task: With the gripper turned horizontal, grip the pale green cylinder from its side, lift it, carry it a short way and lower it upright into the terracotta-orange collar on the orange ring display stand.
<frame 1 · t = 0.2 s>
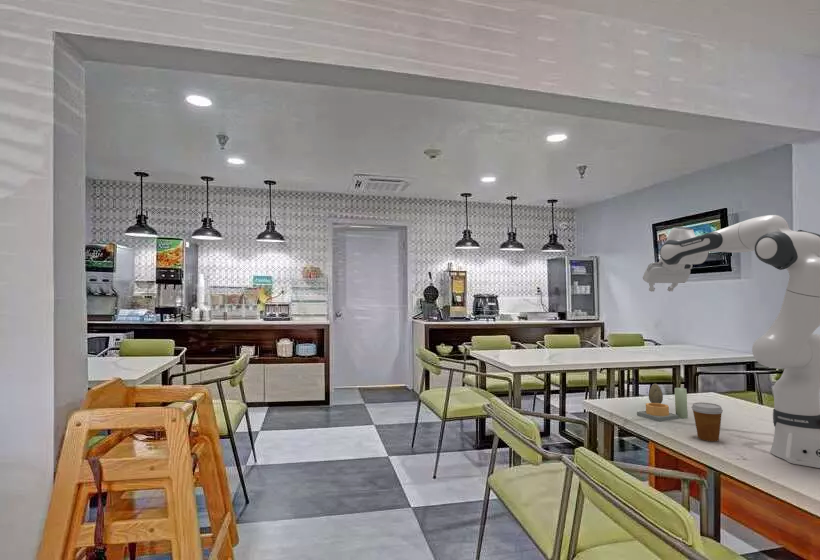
hand: (660, 290, 198), 54 cm above the table, tool tilted 30°, fingers open, 8 cm apart
orange ring display stand: (657, 416, 190), on the table
decorative egg: (656, 405, 211), on the table
pale green cylinder: (681, 417, 189), on the table
disposable coffee cup: (708, 439, 160), on the table
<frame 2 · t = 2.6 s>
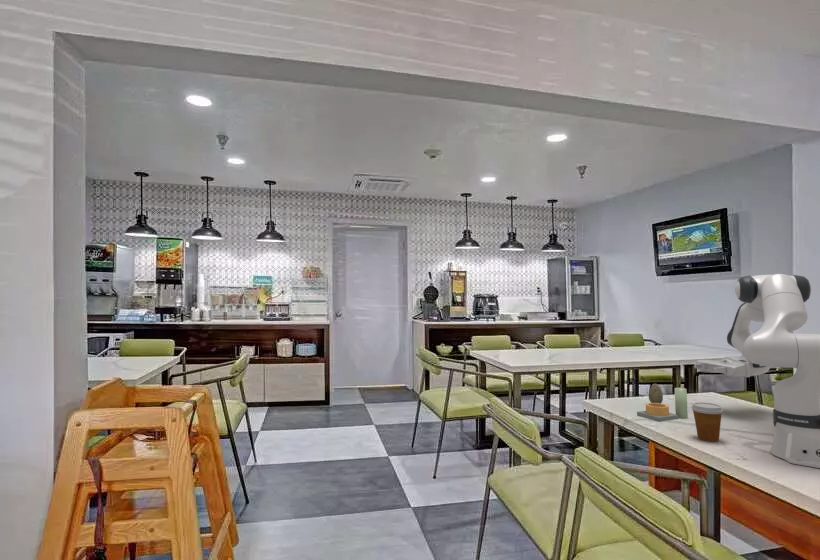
hand: (704, 368, 192), 20 cm above the table, tool horizontal, fingers open, 8 cm apart
nothing on the table moved.
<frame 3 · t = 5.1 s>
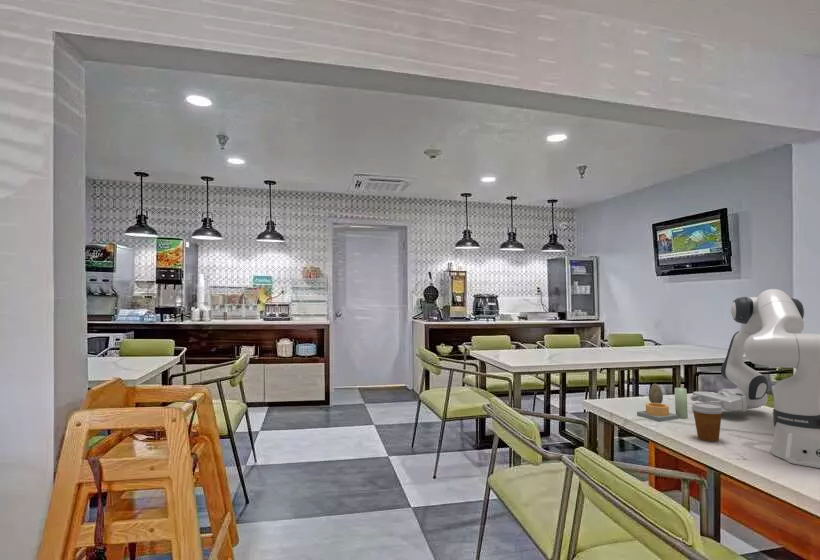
hand: (700, 400, 191), 6 cm above the table, tool horizontal, fingers open, 8 cm apart
nothing on the table moved.
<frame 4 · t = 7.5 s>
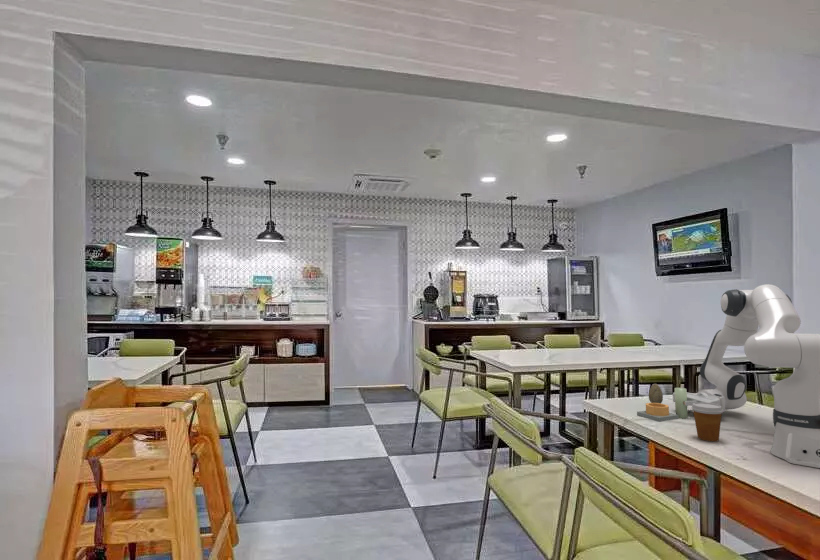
hand: (679, 401, 189), 7 cm above the table, tool horizontal, fingers closed on pale green cylinder, 4 cm apart
pale green cylinder: (681, 417, 189), on the table, touching gripper
everything else where it was.
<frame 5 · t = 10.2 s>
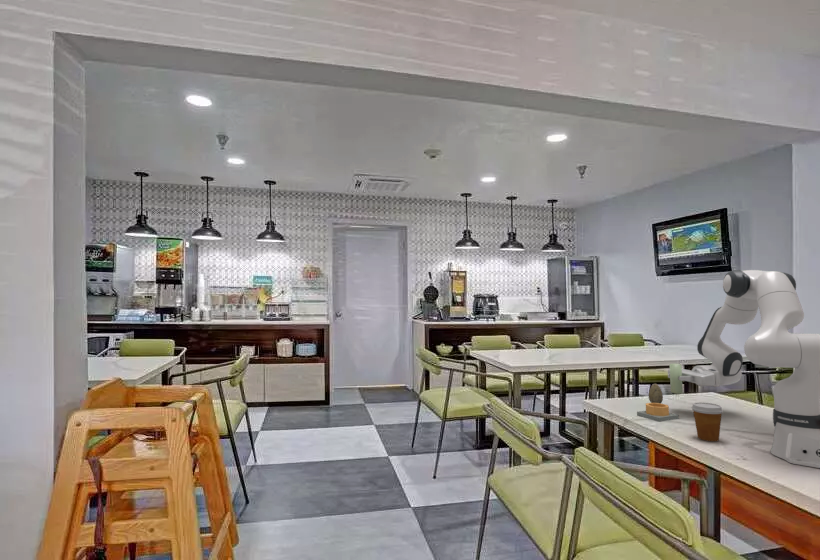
hand: (674, 377, 190), 17 cm above the table, tool horizontal, fingers closed on pale green cylinder, 4 cm apart
pale green cylinder: (676, 392, 190), point 10 cm above the table, touching gripper
everything else where it was.
when the fingers open (10 cm above the table, at t = 13.1 s): pale green cylinder drops 2 cm, resting on orange ring display stand.
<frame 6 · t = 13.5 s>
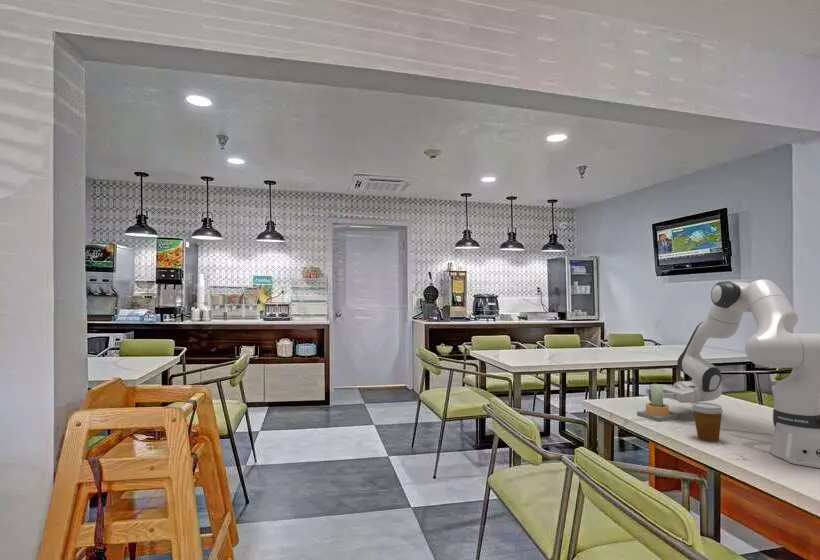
hand: (654, 393, 190), 10 cm above the table, tool horizontal, fingers open, 8 cm apart
pale green cylinder: (657, 413, 190), point 2 cm above the table, touching orange ring display stand
everything else where it was.
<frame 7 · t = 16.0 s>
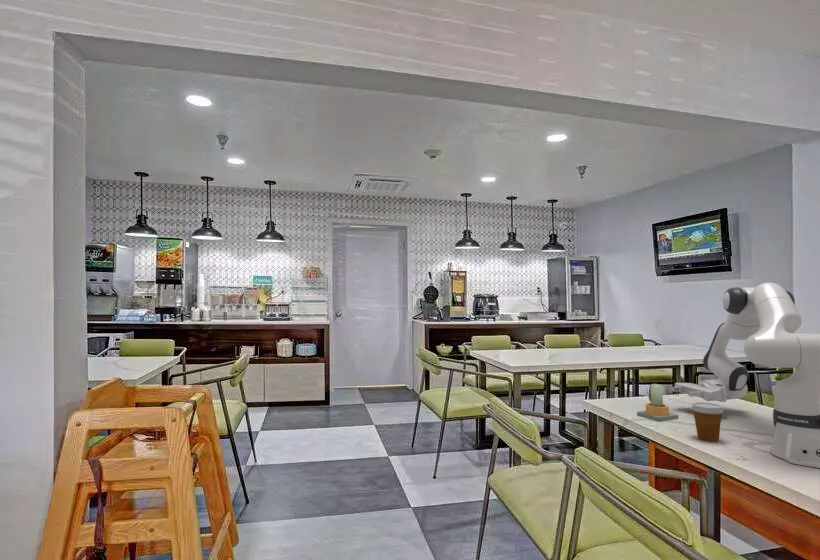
hand: (681, 391, 192), 10 cm above the table, tool horizontal, fingers open, 8 cm apart
nothing on the table moved.
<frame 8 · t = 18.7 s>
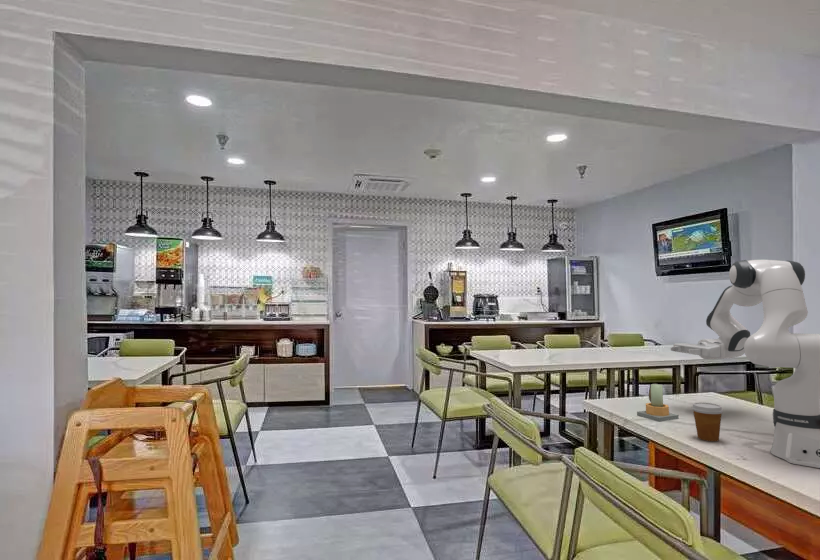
hand: (679, 350, 193), 28 cm above the table, tool horizontal, fingers open, 8 cm apart
nothing on the table moved.
at the end: pale green cylinder 0.1 cm off-centre on the orange ring display stand, point 1.5 cm above the orange ring display stand's base; pale green cylinder tilted 1°; the gripper is holding nothing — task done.
